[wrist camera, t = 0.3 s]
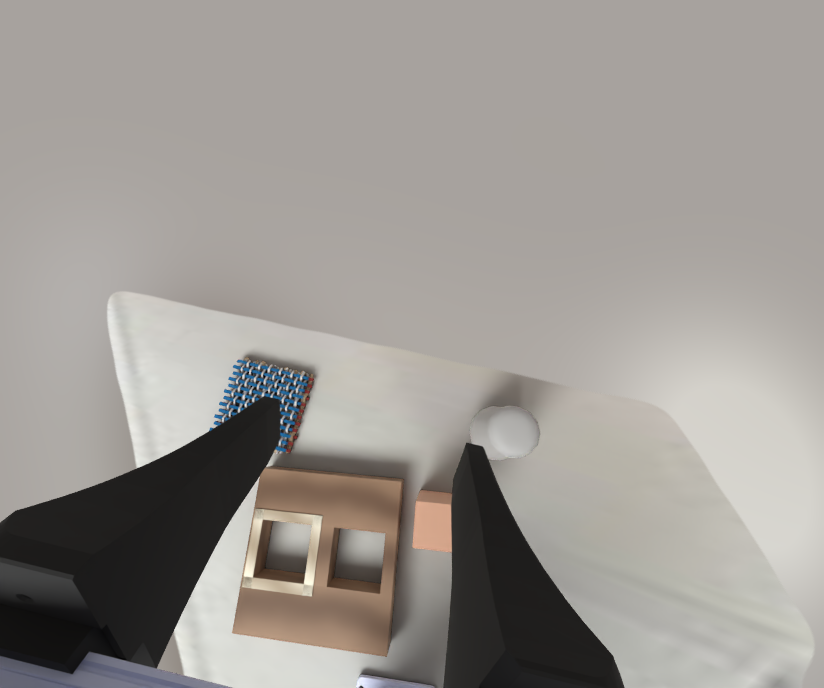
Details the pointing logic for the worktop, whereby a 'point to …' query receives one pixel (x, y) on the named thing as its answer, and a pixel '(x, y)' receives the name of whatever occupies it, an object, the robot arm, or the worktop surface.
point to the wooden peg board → (321, 562)
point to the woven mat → (269, 395)
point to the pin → (433, 521)
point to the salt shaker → (505, 432)
